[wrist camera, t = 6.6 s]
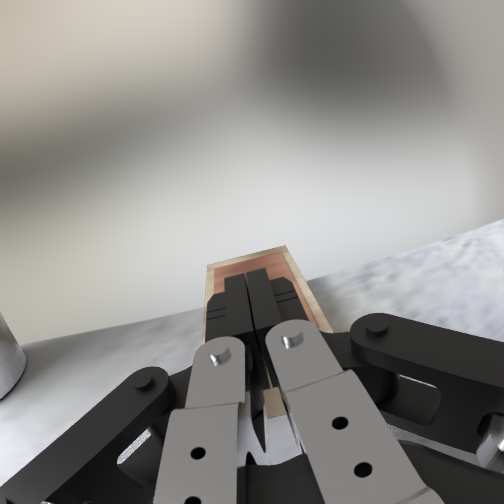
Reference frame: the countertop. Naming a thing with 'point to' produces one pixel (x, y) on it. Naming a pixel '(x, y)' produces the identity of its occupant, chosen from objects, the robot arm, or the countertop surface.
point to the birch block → (276, 267)
